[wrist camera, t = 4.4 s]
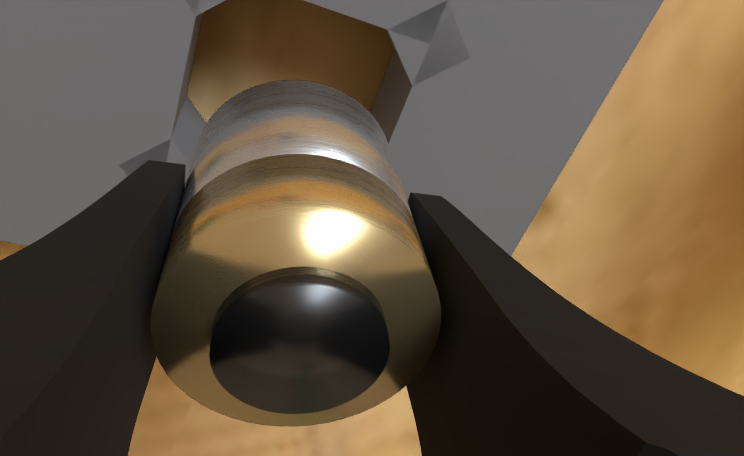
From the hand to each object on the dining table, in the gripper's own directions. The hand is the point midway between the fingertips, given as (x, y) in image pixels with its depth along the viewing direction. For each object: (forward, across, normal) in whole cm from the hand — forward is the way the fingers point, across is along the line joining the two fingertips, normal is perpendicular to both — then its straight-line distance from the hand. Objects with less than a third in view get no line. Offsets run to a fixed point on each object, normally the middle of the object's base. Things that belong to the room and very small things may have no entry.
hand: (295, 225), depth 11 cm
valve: (+2, 0, 0) cm, 2 cm away
